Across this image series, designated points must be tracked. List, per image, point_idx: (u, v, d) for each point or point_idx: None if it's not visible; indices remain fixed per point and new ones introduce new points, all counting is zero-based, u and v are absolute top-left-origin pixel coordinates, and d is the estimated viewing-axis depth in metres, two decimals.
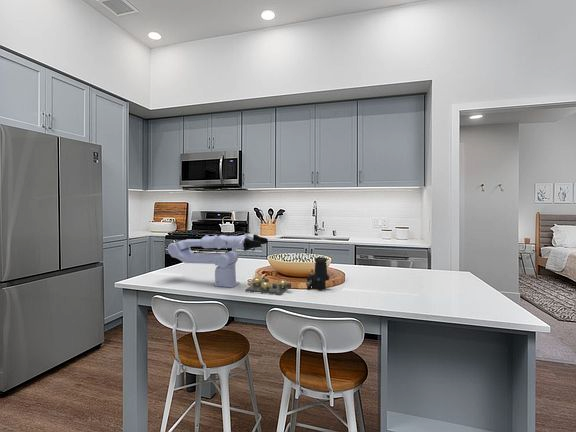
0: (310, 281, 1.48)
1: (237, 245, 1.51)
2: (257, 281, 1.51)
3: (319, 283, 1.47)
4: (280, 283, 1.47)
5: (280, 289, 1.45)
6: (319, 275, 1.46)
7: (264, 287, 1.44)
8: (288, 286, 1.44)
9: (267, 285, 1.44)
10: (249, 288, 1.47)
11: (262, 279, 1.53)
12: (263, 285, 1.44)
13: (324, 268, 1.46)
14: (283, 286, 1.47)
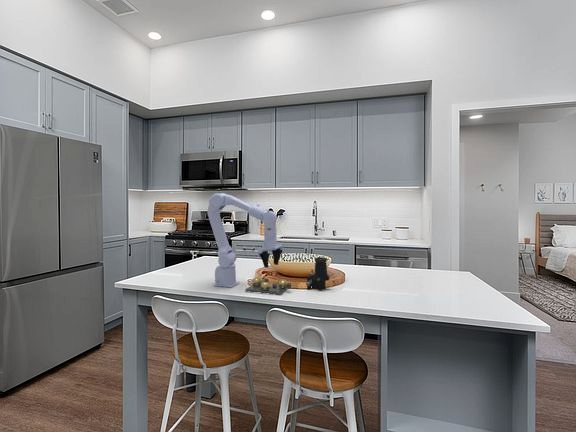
0: (310, 281, 1.48)
1: (264, 240, 1.52)
2: (257, 281, 1.51)
3: (319, 283, 1.47)
4: (280, 283, 1.47)
5: (280, 289, 1.45)
6: (319, 275, 1.46)
7: (264, 287, 1.44)
8: (288, 286, 1.44)
9: (267, 285, 1.44)
10: (249, 288, 1.47)
11: (262, 279, 1.53)
12: (263, 285, 1.44)
13: (324, 268, 1.46)
14: (283, 286, 1.47)
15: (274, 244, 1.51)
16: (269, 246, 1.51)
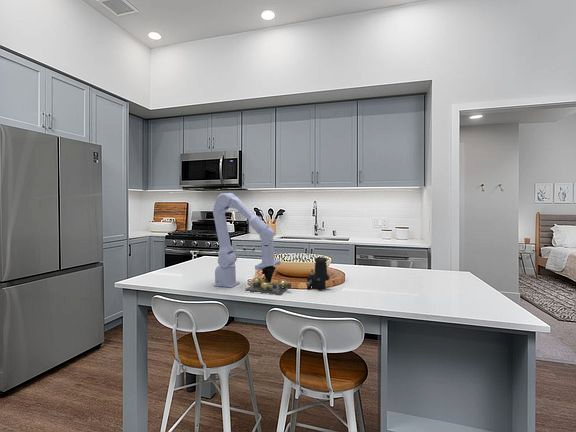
0: (310, 281, 1.48)
1: (262, 256, 1.51)
2: (257, 281, 1.51)
3: (319, 283, 1.47)
4: (280, 283, 1.47)
5: (280, 289, 1.45)
6: (319, 275, 1.46)
7: (264, 287, 1.44)
8: (288, 286, 1.44)
9: (267, 285, 1.44)
10: (249, 288, 1.47)
11: (262, 279, 1.53)
12: (263, 285, 1.44)
13: (324, 268, 1.46)
14: (283, 286, 1.47)
15: (271, 260, 1.51)
16: (266, 263, 1.50)
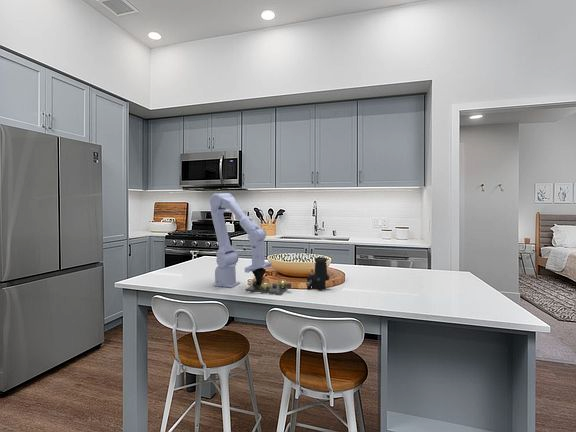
0: (310, 281, 1.48)
1: (252, 258, 1.47)
2: (253, 280, 1.52)
3: (319, 283, 1.47)
4: (280, 283, 1.47)
5: (280, 289, 1.45)
6: (319, 275, 1.46)
7: (264, 287, 1.44)
8: (288, 286, 1.44)
9: (267, 285, 1.44)
10: (249, 288, 1.47)
11: (256, 281, 1.50)
12: (263, 285, 1.44)
13: (324, 268, 1.46)
14: (283, 286, 1.47)
15: (262, 262, 1.46)
16: (256, 265, 1.45)
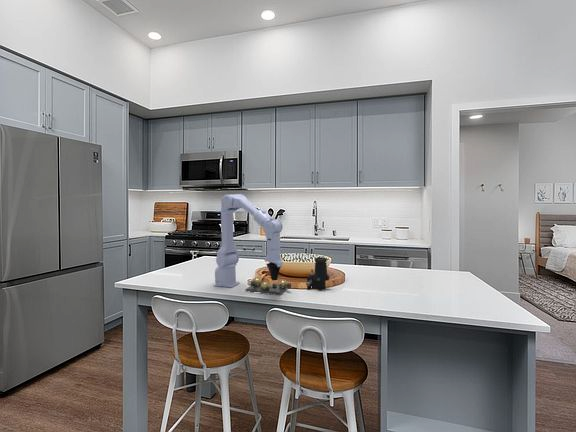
0: (310, 281, 1.48)
1: None
2: (253, 280, 1.53)
3: (319, 283, 1.47)
4: (280, 283, 1.47)
5: (280, 289, 1.45)
6: (319, 275, 1.46)
7: (264, 287, 1.44)
8: (288, 286, 1.44)
9: (267, 285, 1.44)
10: (249, 288, 1.47)
11: (255, 281, 1.50)
12: (263, 285, 1.44)
13: (324, 268, 1.46)
14: (283, 286, 1.47)
15: (267, 256, 1.38)
16: None
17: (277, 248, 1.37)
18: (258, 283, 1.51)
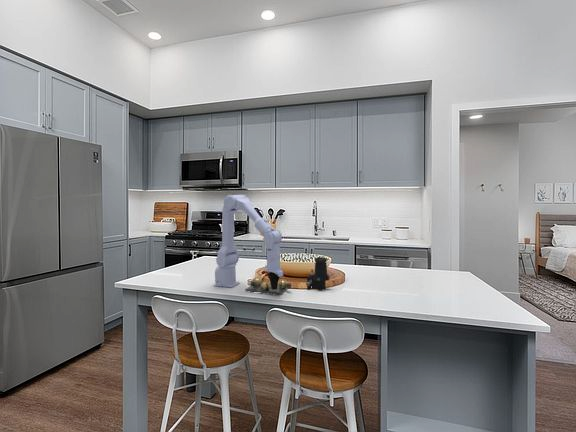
0: (310, 281, 1.48)
1: None
2: (253, 280, 1.53)
3: (319, 283, 1.47)
4: (280, 283, 1.47)
5: (280, 289, 1.45)
6: (319, 275, 1.46)
7: (264, 287, 1.44)
8: (288, 286, 1.44)
9: (267, 285, 1.44)
10: (249, 288, 1.47)
11: (255, 281, 1.50)
12: (263, 285, 1.44)
13: (324, 268, 1.46)
14: (283, 286, 1.47)
15: (267, 266, 1.41)
16: None
17: (277, 258, 1.40)
18: (258, 283, 1.51)
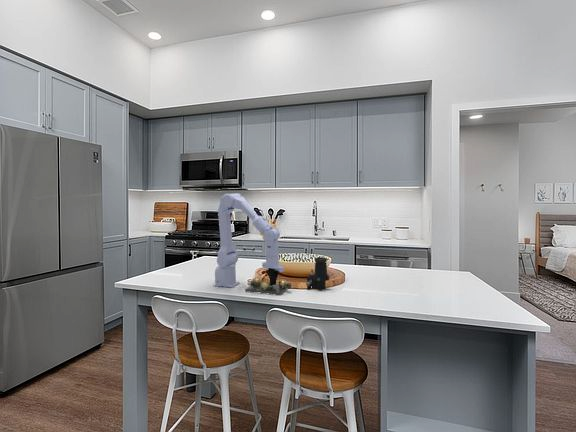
0: (310, 281, 1.48)
1: None
2: (253, 280, 1.53)
3: (319, 283, 1.47)
4: (280, 283, 1.47)
5: (280, 289, 1.45)
6: (319, 275, 1.46)
7: (268, 286, 1.45)
8: (288, 286, 1.44)
9: (268, 284, 1.46)
10: (249, 288, 1.47)
11: (255, 281, 1.50)
12: (268, 284, 1.45)
13: (324, 268, 1.46)
14: (283, 286, 1.47)
15: (267, 262, 1.46)
16: None
17: (277, 255, 1.45)
18: (258, 283, 1.51)
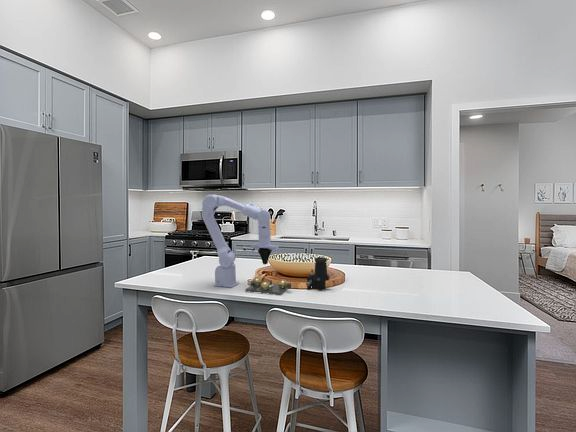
0: (310, 281, 1.48)
1: None
2: (253, 280, 1.53)
3: (319, 283, 1.47)
4: (280, 283, 1.47)
5: (280, 289, 1.45)
6: (319, 275, 1.46)
7: None
8: (288, 286, 1.44)
9: None
10: (249, 288, 1.47)
11: (255, 281, 1.50)
12: (268, 284, 1.45)
13: (324, 268, 1.46)
14: (283, 286, 1.47)
15: (261, 242, 1.53)
16: None
17: (270, 235, 1.55)
18: (258, 283, 1.51)
